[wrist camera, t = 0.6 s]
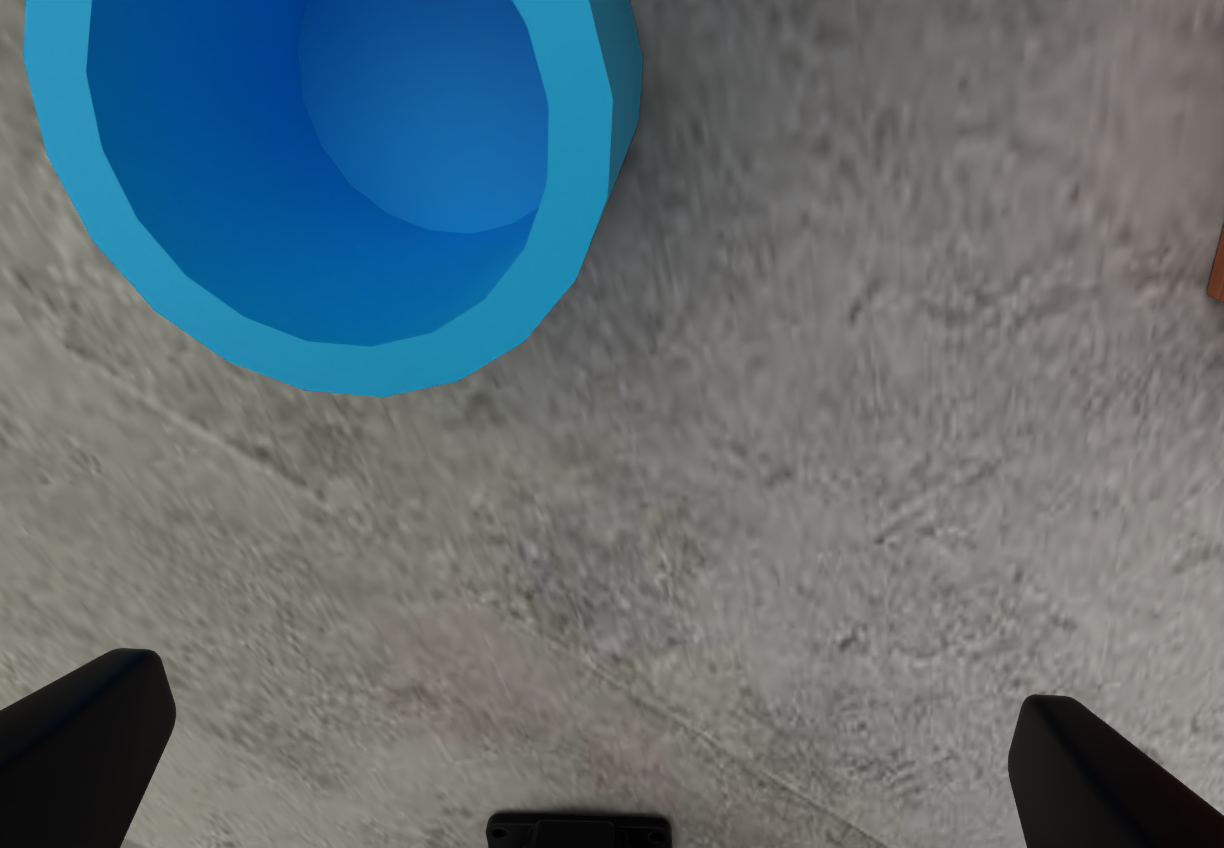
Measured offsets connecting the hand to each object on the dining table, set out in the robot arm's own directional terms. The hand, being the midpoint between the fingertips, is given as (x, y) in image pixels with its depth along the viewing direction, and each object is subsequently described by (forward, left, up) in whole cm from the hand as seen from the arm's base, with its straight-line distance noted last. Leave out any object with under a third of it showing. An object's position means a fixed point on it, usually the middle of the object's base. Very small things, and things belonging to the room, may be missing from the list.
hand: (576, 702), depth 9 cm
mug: (+7, +3, -14) cm, 16 cm away
